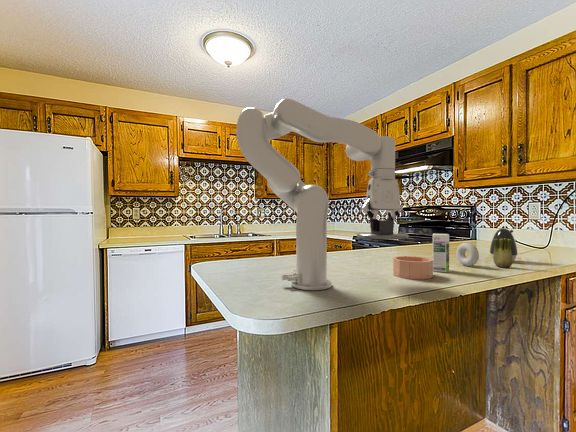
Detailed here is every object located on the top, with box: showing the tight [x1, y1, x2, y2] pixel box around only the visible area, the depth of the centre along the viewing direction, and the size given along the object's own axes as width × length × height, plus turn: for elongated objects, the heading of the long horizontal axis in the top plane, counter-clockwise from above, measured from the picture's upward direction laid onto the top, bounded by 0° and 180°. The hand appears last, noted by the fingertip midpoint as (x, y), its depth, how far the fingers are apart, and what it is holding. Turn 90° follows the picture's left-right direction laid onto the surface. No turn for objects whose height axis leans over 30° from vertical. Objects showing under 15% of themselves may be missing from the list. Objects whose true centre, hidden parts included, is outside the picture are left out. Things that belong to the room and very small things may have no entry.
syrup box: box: [432, 233, 450, 274], centre depth 112 cm, size 6×6×14 cm
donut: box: [455, 242, 480, 267], centre depth 122 cm, size 10×4×10 cm, turn 15°
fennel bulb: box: [493, 238, 514, 269], centre depth 119 cm, size 6×5×12 cm
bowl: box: [392, 255, 434, 281], centre depth 104 cm, size 13×13×6 cm
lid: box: [356, 219, 409, 241], centre depth 94 cm, size 16×16×6 cm
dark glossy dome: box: [489, 228, 518, 261], centre depth 133 cm, size 10×10×15 cm
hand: (382, 230), depth 94 cm, fingers closed on lid, 5 cm apart
